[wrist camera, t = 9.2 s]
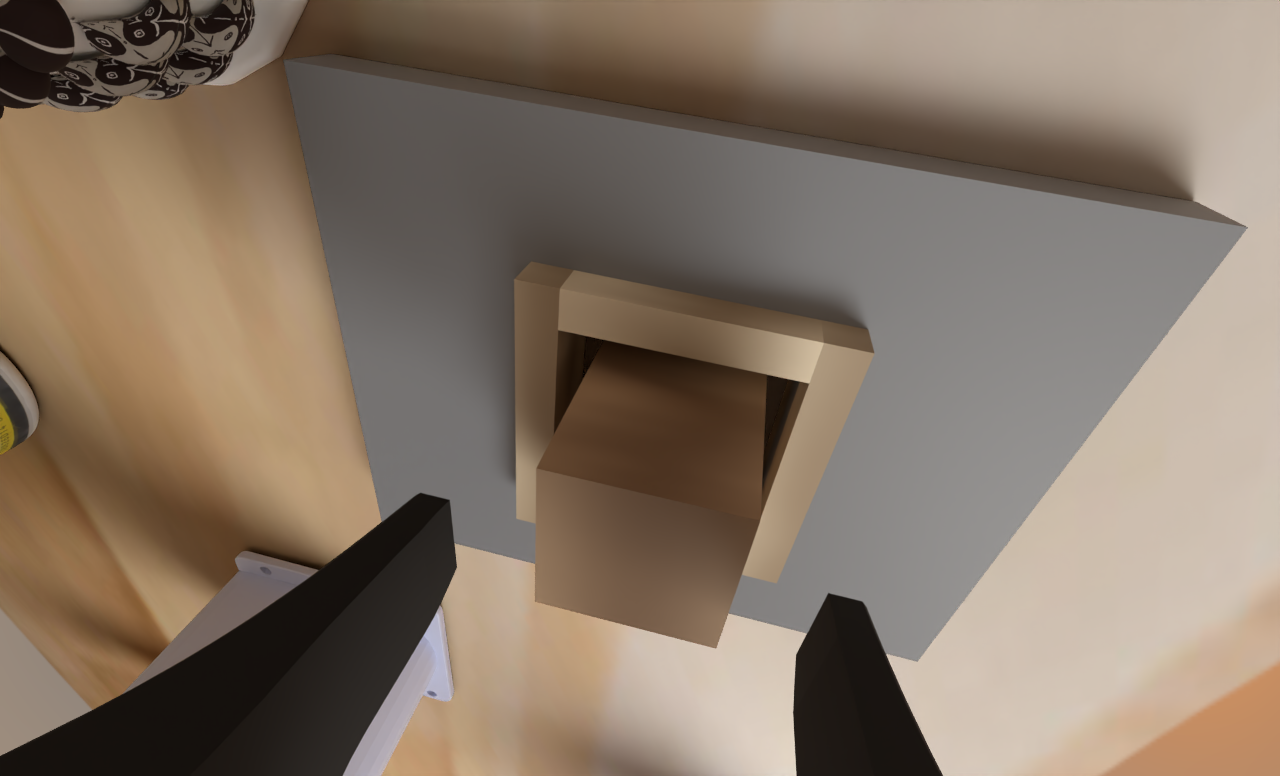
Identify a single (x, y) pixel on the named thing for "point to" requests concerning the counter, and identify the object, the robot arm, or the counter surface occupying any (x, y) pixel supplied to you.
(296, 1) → the decorative candle
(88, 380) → the counter surface
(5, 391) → the pill bottle
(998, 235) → the plate
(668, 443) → the walnut block
